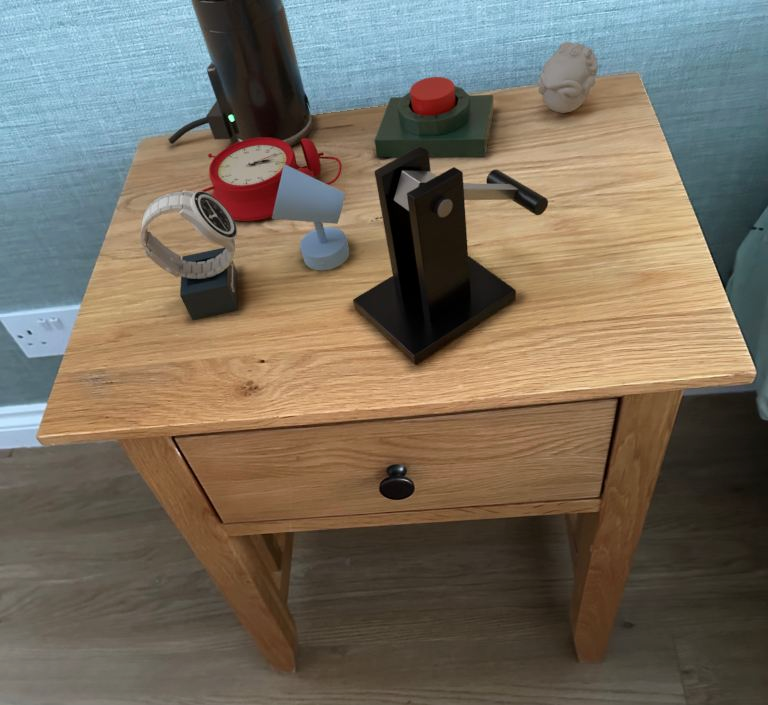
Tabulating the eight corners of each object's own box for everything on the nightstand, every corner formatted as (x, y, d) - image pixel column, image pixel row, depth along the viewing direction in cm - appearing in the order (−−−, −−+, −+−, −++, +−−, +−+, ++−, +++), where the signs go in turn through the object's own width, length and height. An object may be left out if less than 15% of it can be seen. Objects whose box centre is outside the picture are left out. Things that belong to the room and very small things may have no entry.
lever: (494, 190, 62) (503, 164, 61) (542, 220, 58) (553, 193, 57) (378, 190, 54) (386, 160, 52) (426, 224, 50) (436, 193, 49)
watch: (258, 305, 64) (221, 209, 56) (173, 323, 64) (123, 230, 56) (256, 266, 68) (221, 171, 60) (176, 283, 68) (129, 190, 60)
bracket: (450, 251, 65) (438, 118, 55) (516, 299, 60) (516, 162, 50) (354, 308, 62) (323, 179, 52) (415, 365, 57) (393, 233, 46)
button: (408, 117, 75) (406, 100, 74) (416, 94, 78) (414, 77, 77) (452, 116, 74) (451, 98, 73) (458, 93, 77) (457, 75, 76)
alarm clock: (205, 142, 78) (327, 102, 73) (234, 187, 82) (350, 151, 77) (182, 199, 71) (315, 158, 66) (214, 244, 75) (341, 209, 71)
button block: (377, 157, 78) (371, 125, 75) (392, 114, 83) (388, 82, 80) (485, 157, 75) (483, 123, 72) (493, 112, 80) (492, 79, 77)
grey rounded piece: (606, 102, 78) (613, 41, 73) (568, 130, 76) (572, 69, 71) (562, 87, 82) (565, 28, 77) (524, 114, 79) (524, 55, 74)
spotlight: (284, 275, 66) (355, 269, 66) (255, 188, 59) (335, 180, 58) (290, 241, 70) (358, 235, 69) (263, 155, 62) (339, 147, 61)
